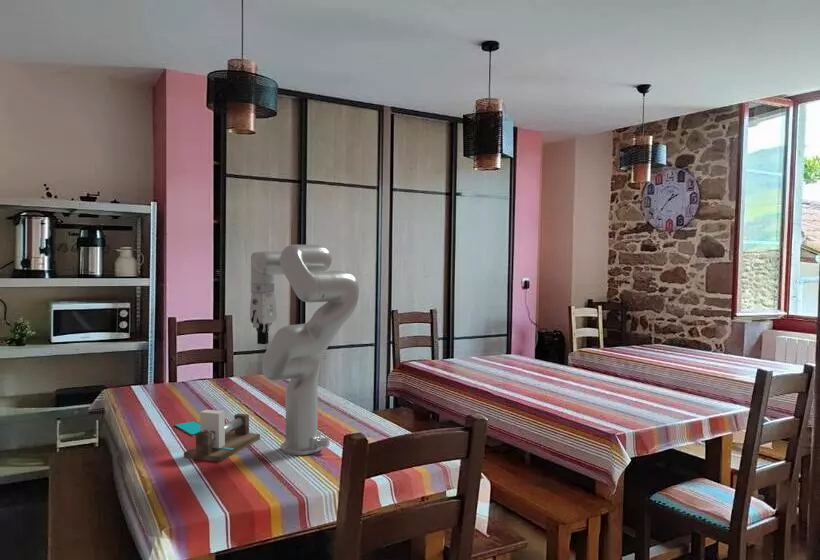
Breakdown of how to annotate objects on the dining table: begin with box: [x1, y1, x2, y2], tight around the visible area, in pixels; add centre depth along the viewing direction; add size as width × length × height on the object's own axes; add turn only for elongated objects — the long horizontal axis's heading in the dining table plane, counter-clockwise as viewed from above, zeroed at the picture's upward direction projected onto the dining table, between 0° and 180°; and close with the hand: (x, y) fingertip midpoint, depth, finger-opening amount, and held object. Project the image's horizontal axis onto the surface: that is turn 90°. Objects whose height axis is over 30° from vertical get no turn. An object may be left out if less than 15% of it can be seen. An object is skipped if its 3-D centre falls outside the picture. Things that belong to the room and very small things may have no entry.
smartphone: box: [173, 420, 200, 437], centre depth 199 cm, size 7×1×15 cm
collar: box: [199, 409, 226, 448], centre depth 174 cm, size 6×3×10 cm, turn 74°
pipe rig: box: [183, 413, 261, 463], centre depth 180 cm, size 12×22×8 cm, turn 164°
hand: (262, 343), depth 197 cm, fingers closed
